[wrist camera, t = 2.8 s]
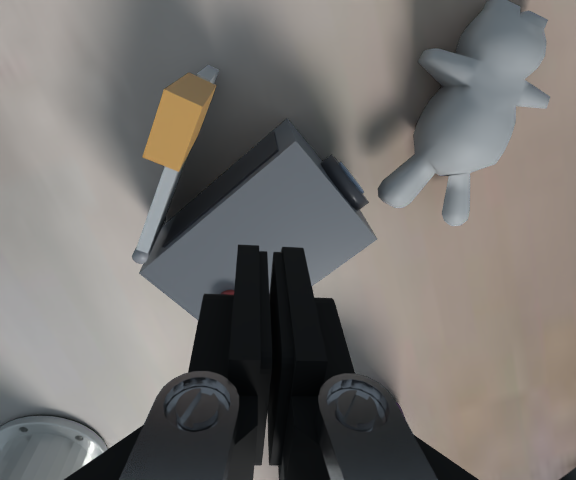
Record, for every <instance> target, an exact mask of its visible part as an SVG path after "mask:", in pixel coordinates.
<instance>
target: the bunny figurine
mask: <svg viewBox="0 0 576 480" xmlns="http://www.w3.org/2000/svg"><path fill="white" fill-rule="evenodd" d="M547 21H548V20H547V19H545V18H543V17H541V16H539V15H537V14H535V13H533V12H531V11H525V12H521V13H520V6H518V5H516V4H514V3H512V2H510V1H508V0H489V1H487V2H486V4H485V6H484V8H483V10H482V11H481V12H480V13H479V14H478V15H477V16H476V18H475V19H474V20H473V21H472V22H471V23H470V24H469V25H468V26H467V28H466V29H465V30H464V32H463V33H462V35H461V37H460V39H459V42H458V45H457V48H456V53H452V52H449V51H445V50H442V49H438V48H434V49H429V50H424V51H423V53H422V55H421V57H420V59H419V60H418V63H419V64H420V65H421V66H422V67H423V68H424V69H425V70H426V71H427V72H428V73H429V74H430V75H431V76H432V77H433V78H434V79H435V80H436V81H437V82H439V83H440V84H441V85H442V87H441V88H440V89H439V91H438V92H437V93H436V94H435V95H434V96H433V97H432V98H431V99H430V101H429V102H428V104H427V106H426V107H425V109H424V110H423V112H422V114H421V116H420V118H419V120H418V122H417V125H416V128H415V131H414V135H413V138H414V149H415V154H414V155H413V156H412V157H411V158H409V159H408V160H407V161H406V162H405V163H403V164H402V165H401V166H400V167H399V168H397V169H396V170H395V171H394V172H392V173H391V174H390V175H389V176H388V177H386V178H385V179H384V180H383V181H382V183H381V184H380V186H379V187H378V197H379V198H380V199H381V200H382V201H383V202H385V203H386V204H388V205H390V206H392V207H395V208H403V207H405V206H407V205H408V204H410V203H411V202H412V201H413V199H414V198H415V197H416V196H417V195H418V193H419V192H420V191H421V190H422V188H423V187H424V186H425V185H426V184H427V182H428V181H429V180H430V179H431V178H432V176H433V175H434V174H435V173H436V174H438V175H439V176H449V178H448V183H447V189H446V194H445V199H444V205H443V210H442V215H443V219H444V221H445V222H446V223H447V224H449V225H451V226H459V225H462V224H463V223H464V222H466V221H467V220H468V216H469V211H470V173H471V172H474V171H477V170H480V169H483V168H486V167H488V166H491V165H494V164H496V163H497V161H498V160H499V158H500V157H501V155H502V154H503V152H504V151H505V149H506V146H507V144H508V142H509V140H510V138H511V135H512V132H513V128H514V125H515V121H516V106H521V107H534V108H547V105H548V102H549V99H550V96H548V95H547V94H545V93H544V92H542V91H541V90H539V89H538V88H536V87H535V86H533V85H532V84H530V83H529V82H527V81H526V80H524V79H525V78H526V77H528V76H529V75H530V74H531V73H532V72H533V71H535V70H536V69H537V68H538V66H539V65H540V63H541V61H542V60H543V58H544V57H545V51H546V38H545V33H544V28H545V26H546V23H547Z"/></svg>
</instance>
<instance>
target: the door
mask: <svg viewBox="0 0 576 480" xmlns="http://www.w3.org/2000/svg"><path fill="white" fill-rule="evenodd" d="M218 72H219V70H218V69H216V68H214V67H212V66H210V65H207V66H206V67H205V68H203V69H202V70H201V71H200V72H198V73H197V74H196V75H194V74H191V73H187V74H186V75H184V76H183V77H181V78H180V79H178V80H177V81H175V82H174V83H173V84H171V85H170V86H168V87H167V88H165V89H164V91H163V94H162V97H161V100H160V103H159V106H158V110H157V113H156V116H155V119H154V122H153V125H152V128H151V132H150V135H149V138H148V141H147V144H146V147H145V150H144V154H143V158H145V159H148V160H150V161H153V162H155V163H158V164H160V165H163V166H165V167H164V170H163V173H162V176H161V178H160V181H159V184H158V187H157V190H156V193H155V196H154V199H153V202H152V204H151V207H150V210H149V213H148V216H147V219H146V222H145V225H144V228H143V231H142V233H141V236H140V239H139V242H138V245H137V247H136V249H135V251H134V253H133V255H132V258H133V260H134V261H135V262H136V263H139V264H143V263H145V262H146V261H147V259H148V257H149V255H150V253H151V250H152V248H153V246H154V244H155V242H156V240H157V237H158V235H159V233H160V231H161V229H162V227H163V224H164V222H165V220H166V214H167V211H168V208H169V205H170V203H171V200H172V197H173V195H174V192H175V189H176V186H177V184H178V181H179V178H180V175H181V173H182V170H183V167H184V165H185V162H186V159H187V156H188V154H189V152H190V150H191V148H192V146H193V144H194V142H195V140H196V138H197V136H198V134H199V132H200V129H201V126H202V124H203V121H204V118H205V115H206V113H207V110H208V107H209V105H210V102H211V99H212V97H213V94H214V91H215V88H216V86H217V85H215V84H214V83H215V80H216V77H217V75H218Z"/></svg>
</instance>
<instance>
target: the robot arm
mask: <svg viewBox="0 0 576 480" xmlns="http://www.w3.org/2000/svg"><path fill="white" fill-rule="evenodd" d="M267 412H268V446H269V465H278V468H279V480H478V479H477V478H476V477H474V476H473V475H471V474H470V473H468V472H467V471H465V470H464V469H462V468H461V467H460V466H458V465H457V464H455V463H454V462H452V461H451V460H449V459H448V458H447V457H445V456H444V455H442V454H441V453H439V452H438V451H436V450H435V449H433V448H432V447H431V446H429V445H428V444H426V443H425V442H423V441H422V440H420V439H419V438H417V437H416V436H415V435H413V433H412V431H411V429H410V427H409V425H408V424H407V422H406V420H405V418H404V416H403V414H402V413H401V411H400V409H399V407H398V405H397V403H396V402H395V400H394V398H393V397H392V396H391V394H390V393H389V391H388V390H387V389H386V388H384V387H383V386H382V385H381V384H380V383H378V382H377V381H375V380H373V379H371V378H369V377H367V376H363V375H359V374H355V372H354V369H353V365H352V362H351V358H350V355H349V351H348V348H347V344H346V341H345V337H344V334H343V330H342V327H341V323H340V319H339V316H338V312H337V309H336V305H335V302H334V300H333V299H332V298H314V295H313V290H312V285H311V280H310V276H309V271H308V266H307V262H306V257H305V252H304V248H299V247H282V249H281V252H274V253H273V261H272V272H271V283H270V294H269V276H268V256H267V251H259V245H239V244H238V251H237V263H236V275H235V287H234V295H229V294H204V295H203V299H202V304H201V309H200V315H199V320H198V325H197V330H196V335H195V340H194V345H193V350H192V356H191V361H190V366H189V371H188V373H185V374H182V375H180V376H178V377H176V378H174V379H172V380H171V381H170V382H169V383H167V384H166V385H165V386H164V387H163V388H162V389H161V391H160V392H159V394H158V395H157V397H156V399H155V401H154V403H153V406H152V408H151V410H150V412H149V414H148V417H147V419H146V421H145V423H144V425H143V426H141V427H140V428H138V429H137V430H135V431H134V432H133V433H131V434H130V435H128V436H127V437H125V438H124V439H122V440H121V441H119V442H118V443H116V444H115V445H114V446H112V447H111V448H109V449H107V447H106V444H105V443H104V442H103V440H102V439H101V438H100V437H99V436H98V435H97V434H96V433H95V432H94V431H92V430H91V429H89V428H87V427H86V426H84V425H82V424H79V423H77V422H75V421H72V420H68V419H65V418H60V417H54V416H28V417H23V418H19V419H15V420H13V421H10V422H8V423H6V424H4V425H3V426H1V427H0V480H253V473H254V465H262V457H263V448H264V438H265V429H266V419H267Z"/></svg>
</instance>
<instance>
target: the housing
mask: <svg viewBox="0 0 576 480" xmlns="http://www.w3.org/2000/svg"><path fill="white" fill-rule="evenodd" d="M363 193H364V191H363V189H362V188H361V187H360V185H359V184H358V183H357V181H356V180H355V179H354V177H353V176H352V175H351V173H350V172H349V171H348V170H347V168H346V167H345V166H344V165H343V164H342V162H341V161H340V162H338V161H337V160H336V159H335V157H334V156H333V155H332V154H331V155H330V156H329V157H328V158H327V159H325V160H324V161H322V160H321V159H320V158H319V156H318V155H317V154H316V153H315V151H314V150H313V149H312V148H311V147H310V145H309V144H308V143H307V142H306V140H305V139H304V138H303V137H302V136H301V134H300V133H299V132H298V131H297V129H296V128H295V127H294V126H293V125H292V123H291V122H290V121H289V120H288V118H287V119H286V120H285V121H283V122H282V123H281V124H280V125H279V126H278V127H276V128H275V129H274V130H273V131H272V132H271V133H270V134H268V135H267V136H266V137H265V138H264V139H263V140H261V141H260V142H259V143H258V144H257V145H256V146H255V147H253V148H252V149H251V150H250V151H249V152H248V153H247V154H245V155H244V156H243V157H242V158H241V159H240V160H238V161H237V162H236V163H235V164H234V165H233V166H232V167H230V168H229V169H228V170H227V171H226V172H225V173H223V174H222V175H221V176H220V177H219V178H218V179H217V180H215V181H214V182H213V183H212V184H211V185H210V186H209V187H207V188H206V189H205V190H204V191H203V192H202V193H200V194H199V195H198V196H197V197H196V198H195V199H194V200H192V201H191V202H190V203H189V204H188V205H187V206H185V207H184V208H183V209H182V210H181V211H180V212H179V213H177V214H176V215H175V216H174V217H173V218H172V219H171V220H169V221H168V222H167V223H166V224H165V225H164V226H163V227H162V229H161V231H160V233H159V235H158V237H157V240H156V242H155V244H154V246H153V248H152V250H151V253H150V255H149V257H148V259H147V261H146V262H145V263H144V264H143V266H142V268H141V270H140V272H139V274H141V275H142V276H143V277H144V278H146V279H147V280H148V281H149V282H151V283H152V284H153V285H155V286H156V287H157V288H158V289H160V290H161V291H162V292H163V293H165V294H166V295H167V296H168V297H170V298H171V299H172V300H173V301H175V302H176V303H177V304H178V305H180V306H181V307H182V308H183V309H185V310H186V311H187V312H188V313H190V314H191V315H192V316H193V317H195V318H196V319H197V320H199V315H200V309H201V304H202V299H203V295H204V294H229V295H234V287H235V275H236V263H237V251H238V244H239V245H259V251H267V256H268V276H269V294H270V283H271V272H272V261H273V253H274V252H281V249H282V247H299V248H304V252H305V257H306V262H307V266H308V271H309V276H310V280H311V285H312V286H313V285H314V284H316V283H317V282H318V281H320V280H321V279H323V278H324V277H325V276H327V275H328V274H330V273H331V272H332V271H334V270H335V269H336V268H338V267H339V266H341V265H342V264H343V263H345V262H346V261H348V260H349V259H350V258H352V257H353V256H355V255H356V254H357V253H359V252H360V251H361V250H363V249H364V248H366V247H367V246H368V245H370V244H371V243H373V242H374V241H375V240H377V238H376V236H375V234H374V233H373V231H372V229H371V228H370V226H369V224H368V222H367V221H366V219H365V217H364V216H363V214H362V212H361V211H360V209H361V208H362V207H364V206H365V205H366V204H368V203H369V202H368V200H367V199H366V197H365V196H364V195H363Z"/></svg>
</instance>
